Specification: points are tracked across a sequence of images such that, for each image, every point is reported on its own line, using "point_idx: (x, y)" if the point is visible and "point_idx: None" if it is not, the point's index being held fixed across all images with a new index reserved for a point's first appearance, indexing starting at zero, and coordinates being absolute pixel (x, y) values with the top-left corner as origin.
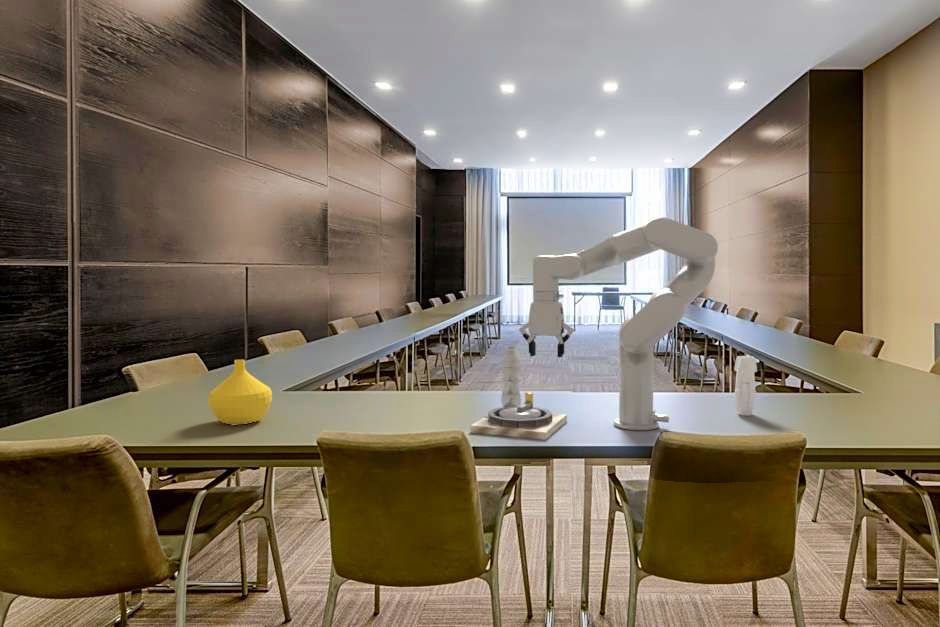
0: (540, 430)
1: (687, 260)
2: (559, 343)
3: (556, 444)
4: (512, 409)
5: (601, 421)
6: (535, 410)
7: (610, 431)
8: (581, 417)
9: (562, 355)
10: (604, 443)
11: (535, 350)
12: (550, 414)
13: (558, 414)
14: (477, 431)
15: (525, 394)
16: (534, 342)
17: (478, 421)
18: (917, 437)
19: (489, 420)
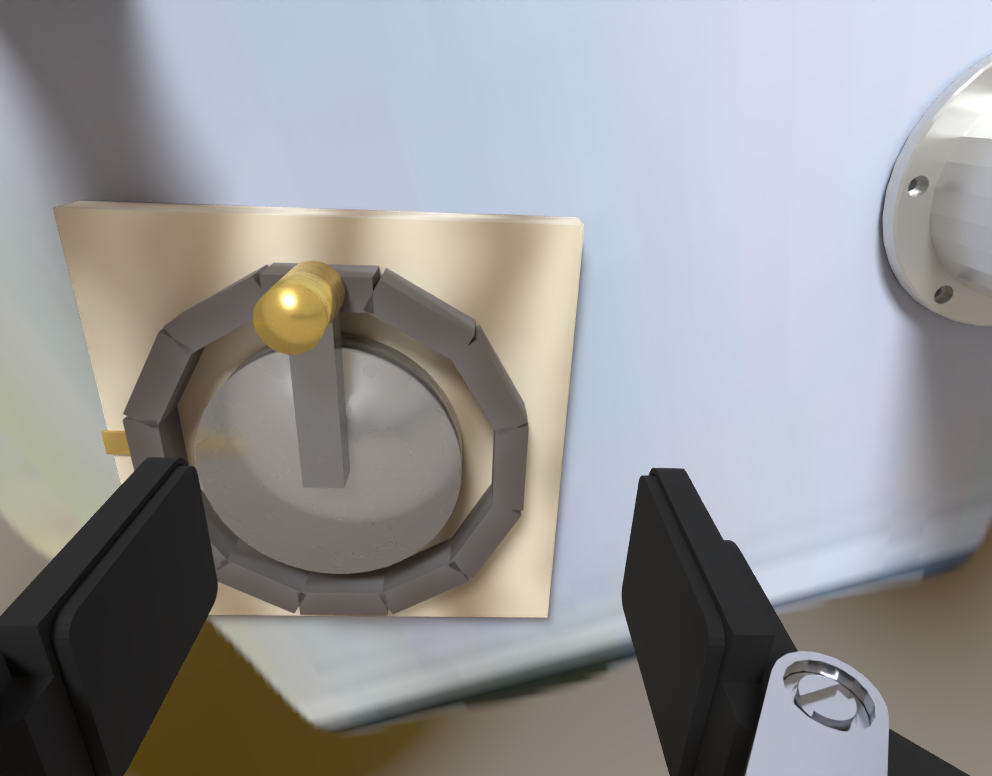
0: (514, 596)
1: None
2: (716, 771)
3: (601, 631)
4: (251, 419)
5: (804, 139)
6: (406, 401)
7: (844, 367)
8: (661, 56)
9: (681, 479)
10: (801, 565)
11: (159, 507)
12: (521, 443)
13: (526, 234)
14: None
15: (268, 341)
16: (54, 653)
17: None
18: None
19: None
